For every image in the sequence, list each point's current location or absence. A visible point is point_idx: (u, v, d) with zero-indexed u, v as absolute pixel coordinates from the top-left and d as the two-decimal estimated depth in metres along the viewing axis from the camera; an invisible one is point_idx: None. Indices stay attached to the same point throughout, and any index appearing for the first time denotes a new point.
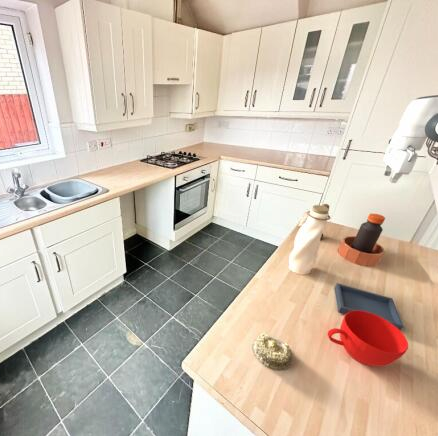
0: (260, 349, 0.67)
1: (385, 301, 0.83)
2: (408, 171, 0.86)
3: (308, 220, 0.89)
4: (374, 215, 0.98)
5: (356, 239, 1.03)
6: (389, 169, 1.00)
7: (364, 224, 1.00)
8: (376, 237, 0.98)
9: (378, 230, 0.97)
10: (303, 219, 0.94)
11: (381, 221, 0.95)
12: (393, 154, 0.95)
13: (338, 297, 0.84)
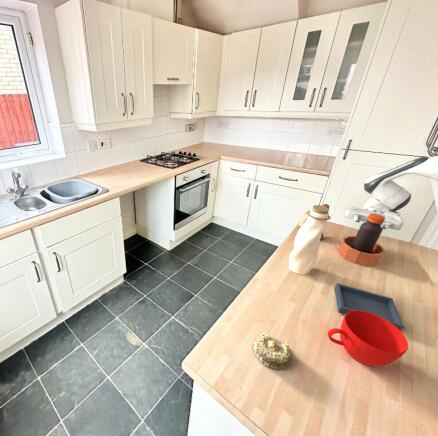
0: (260, 349, 0.67)
1: (385, 301, 0.83)
2: (346, 211, 1.18)
3: (308, 220, 0.89)
4: (374, 215, 0.98)
5: (356, 239, 1.03)
6: None
7: (364, 224, 1.00)
8: (376, 237, 0.98)
9: (378, 230, 0.97)
10: (303, 219, 0.94)
11: (381, 221, 0.95)
12: None
13: (338, 297, 0.84)
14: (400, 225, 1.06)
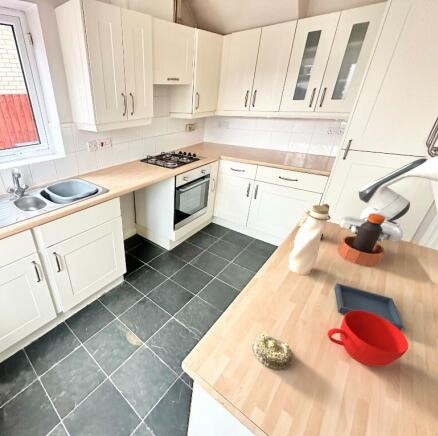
0: (260, 349, 0.67)
1: (385, 301, 0.83)
2: None
3: (308, 220, 0.89)
4: (374, 215, 0.98)
5: (356, 239, 1.03)
6: None
7: (364, 224, 1.00)
8: (376, 237, 0.98)
9: (378, 230, 0.97)
10: (303, 219, 0.94)
11: (381, 221, 0.95)
12: None
13: (338, 297, 0.84)
14: (399, 237, 0.98)
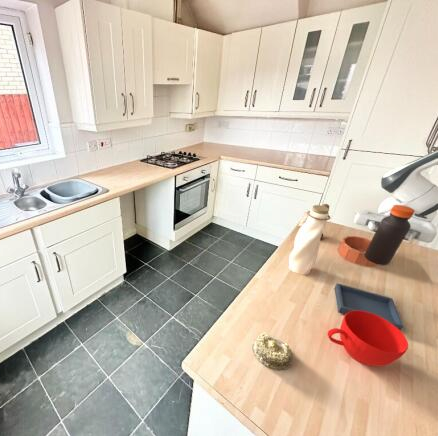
0: (260, 349, 0.67)
1: (385, 301, 0.83)
2: None
3: (308, 220, 0.89)
4: (399, 207, 0.76)
5: (375, 238, 0.81)
6: None
7: (386, 219, 0.78)
8: (402, 235, 0.76)
9: (405, 227, 0.74)
10: (303, 219, 0.94)
11: (409, 215, 0.73)
12: None
13: (338, 297, 0.84)
14: (433, 236, 0.76)
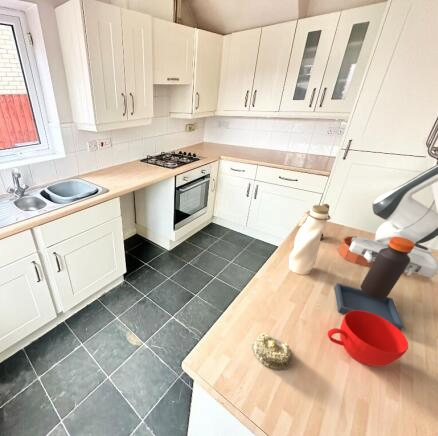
0: (260, 349, 0.67)
1: (385, 301, 0.83)
2: None
3: (308, 220, 0.89)
4: (398, 239, 0.70)
5: (372, 270, 0.75)
6: None
7: (384, 251, 0.72)
8: (401, 270, 0.70)
9: (405, 262, 0.68)
10: (303, 219, 0.94)
11: (409, 249, 0.67)
12: None
13: (338, 297, 0.84)
14: (434, 271, 0.70)
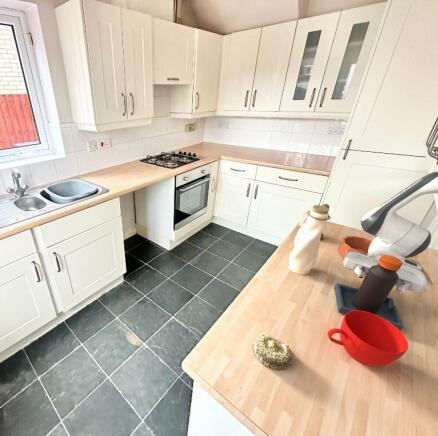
0: (260, 349, 0.67)
1: (385, 301, 0.83)
2: None
3: (308, 220, 0.89)
4: (387, 257, 0.73)
5: (363, 286, 0.78)
6: None
7: (374, 268, 0.75)
8: (390, 287, 0.73)
9: (393, 279, 0.72)
10: (303, 219, 0.94)
11: (397, 267, 0.71)
12: None
13: (338, 297, 0.84)
14: (423, 287, 0.73)
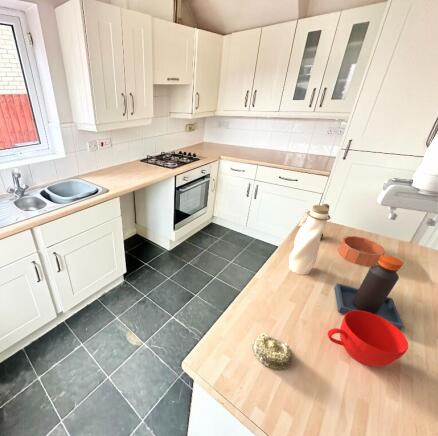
0: (260, 349, 0.67)
1: (385, 301, 0.83)
2: (379, 200, 0.81)
3: (308, 220, 0.89)
4: (387, 257, 0.73)
5: (363, 286, 0.78)
6: (436, 219, 0.76)
7: (374, 268, 0.75)
8: (390, 287, 0.73)
9: (393, 279, 0.72)
10: (303, 219, 0.94)
11: (397, 267, 0.71)
12: None
13: (338, 297, 0.84)
14: None
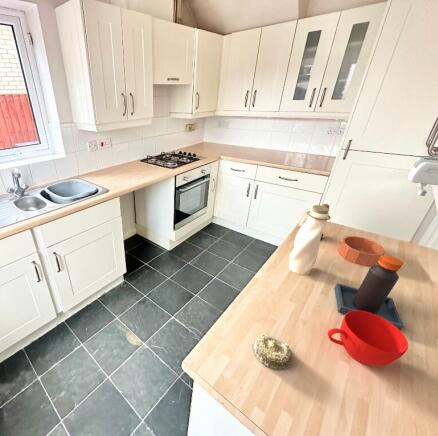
0: (260, 349, 0.67)
1: (385, 301, 0.83)
2: (410, 177, 0.86)
3: (308, 220, 0.89)
4: (387, 257, 0.73)
5: (363, 286, 0.78)
6: None
7: (374, 268, 0.75)
8: (390, 287, 0.73)
9: (393, 279, 0.72)
10: (303, 219, 0.94)
11: (397, 267, 0.71)
12: None
13: (338, 297, 0.84)
14: None
